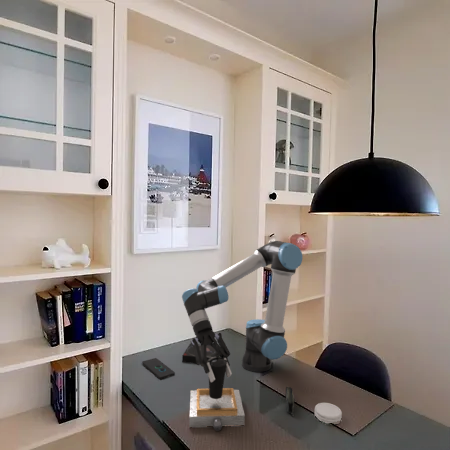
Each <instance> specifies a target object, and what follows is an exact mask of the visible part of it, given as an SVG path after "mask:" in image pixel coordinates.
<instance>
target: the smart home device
mask: <svg viewBox="0 0 450 450" xmlns="http://www.w3.org/2000/svg"><path fill="white" fill-rule="evenodd" d="M141 362H142V363H141V365H142V366H144V368H146V369H147V370H148V371H149V372H150V373H152V375H154V376H155V377H157V379H159V380H163V379H167V378H170V377H174V376H176V372H175V370H173V369H171V368H170V367H169V366H168V365H166V364H165V363H163V362H162V361H161V360H159V359H158V358H157V357H155V358H150V359H147V360H143V361H141Z"/></svg>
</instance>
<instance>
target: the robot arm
mask: <svg viewBox="0 0 450 450" xmlns="http://www.w3.org/2000/svg"><path fill="white" fill-rule="evenodd" d="M303 257H304V256H303V252H302V250H301V249H300V247H299V246H297V245H296V244H294V243H291V242H286V241H280V240H273V241H270V242H268V243H266V244H264V245H262V246H260V247H258V248H257V249H256V250H254V251H253V254H251V255H249V256H247V257H245V258H243V259H242V260H240V261H238V262H236V264H235V263H234V264H233V265H232V266H230V267H229V268H226V269H225V270H223V271H221V272H220V273H218V274H216V275H215V276H212V277H211V278H208V279H207V280H200V281H199V282H197V285H196V288H189V289H187V290H185V291H184V292H183V293H182V294H181V298H182V302H183V306H184V308H185V310H186V313H187V316H188V319H189V322H190V324H191V327H192V330H193V333H194V335H195V338H192V339H191V340H190V343H191V344H192V346H193V349H194V353H195V357H196V361H197V363H196V365H197V366H200V367H202V368H203V370H204V373H205V374H206V375H207V376H208V380H209V379H210V382H213V381H214V380H215V377H214V374H213V371H212V369H211V366H210V364H209V363H207V349H206V346H207V345H211V347H213V348H214V349H215V351H216V352H217V345H219V352H218V357H221V358H224V359H226V360H227V364H226V369H225V375H226V378H230V377H231V376H232V375H233V373H232V370H231V368H230V366H231V364H230V361H229V359H228V357H230V356H231V352H230V350H229V349H228V346H227V344H226V342H225V341H224V338H223V335H222V333H221V332H218V333H215V331H213V327H212V324H211V321H210V319H209V315H208V314H207V311H206V309H208V308H211V307H215V306H218V305H219V306H220V305H222V304H224V303H226V302H228V301H229V292H228V290H227V288H228V287H230V286H231V285H233V284H234V283H236V282H238V281H240V280H242V279H243V278H245V277H246V276H248V275H250V274H252V273H253V272H255V271H257V270H258V269H260V268H261V267H262V268H266V267H267V266H270V265H271V266H270V270H271V271H272V279H271V284H270V290H269V296H268V301H267V307H266V314H265V319H261V318H260V319H258V318H257V319H250V320H248V321H247V322H246V325H245V326H246V327H245V350H244V353H243V355H242V358H241V366H242V367H243V368H244V369H245V370H247V371H250V372H255V373H258V372H259V373H263V372H266V371H267V372H268V371H269V370H270V369H271V368H272V360H273V361H274V360H278V359H280V358H281V357H283V356H284V355H285V353H286V351H287V349H288V342H287V340H286V338H285V334H286V329H285V328H284V322H285V321H284V320H285V316H286V310H287V309H286V308H287V305H288V303H287V302H288V298H289V290H290V286H291V281H292V277H293V276H294V275H295V274H296V270H297V269H298V268H299V267H300V266H301V265H302V263H303V259H304V258H303ZM198 344H201V354H200V350H199V346H198Z"/></svg>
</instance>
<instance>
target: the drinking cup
mask: <svg viewBox="0 0 450 450" xmlns="http://www.w3.org/2000/svg"><path fill="white" fill-rule="evenodd" d="M219 346H220V345H219V344H218V345H217V357H213V358H210V359H208V361H207V363H209V364H210V366H211V369H212V371H213V374H214V377H215V380H214V381H213V382H210V379H209V378H208V389H209V394H210V397H211V398H213V399H219V398H221V397H222V392H223V388H224V383H225V375H226V372H225V369H226V364H227V360H226V359H224V358H221V357H220V356H219V355H218V352H219Z"/></svg>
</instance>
